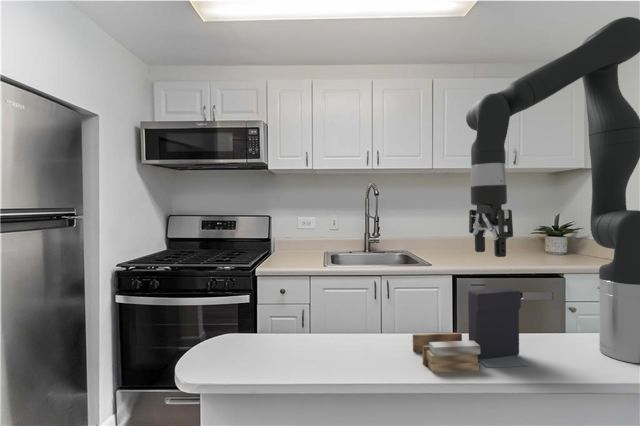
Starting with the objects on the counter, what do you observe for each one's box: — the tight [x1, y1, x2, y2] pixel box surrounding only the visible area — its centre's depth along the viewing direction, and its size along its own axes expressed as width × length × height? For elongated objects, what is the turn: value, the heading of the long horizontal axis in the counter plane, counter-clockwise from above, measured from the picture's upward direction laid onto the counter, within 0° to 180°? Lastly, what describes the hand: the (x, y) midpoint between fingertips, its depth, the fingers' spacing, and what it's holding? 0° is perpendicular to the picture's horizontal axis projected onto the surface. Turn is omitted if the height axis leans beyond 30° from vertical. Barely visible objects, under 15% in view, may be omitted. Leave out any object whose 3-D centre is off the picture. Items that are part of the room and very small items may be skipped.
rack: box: [412, 332, 463, 366], centre depth 79 cm, size 12×8×4 cm, turn 93°
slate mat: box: [478, 355, 527, 368], centre depth 79 cm, size 9×12×1 cm
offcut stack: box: [426, 340, 480, 373], centre depth 73 cm, size 11×3×5 cm, turn 93°
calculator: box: [467, 287, 522, 360], centre depth 78 cm, size 11×4×15 cm, turn 101°
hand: (489, 254), depth 79 cm, fingers open, 8 cm apart
